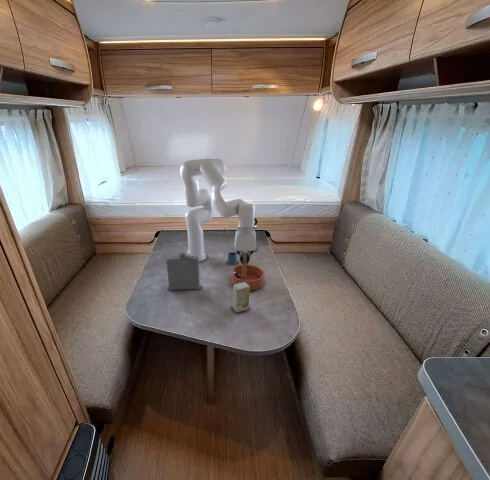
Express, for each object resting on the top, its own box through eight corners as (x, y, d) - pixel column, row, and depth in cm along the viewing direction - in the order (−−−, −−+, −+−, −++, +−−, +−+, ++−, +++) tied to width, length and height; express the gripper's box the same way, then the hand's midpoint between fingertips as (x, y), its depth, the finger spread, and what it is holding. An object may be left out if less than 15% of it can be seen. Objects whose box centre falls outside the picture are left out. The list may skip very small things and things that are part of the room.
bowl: (232, 291, 133) (232, 281, 131) (229, 274, 149) (229, 264, 147) (266, 291, 133) (267, 280, 131) (260, 273, 149) (260, 264, 147)
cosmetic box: (236, 313, 118) (237, 289, 113) (232, 307, 122) (232, 284, 117) (249, 309, 120) (250, 286, 116) (244, 303, 124) (245, 281, 119)
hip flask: (168, 290, 136) (165, 255, 128) (169, 285, 139) (166, 251, 131) (199, 289, 136) (198, 254, 128) (199, 284, 140) (198, 250, 132)
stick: (242, 281, 138) (243, 253, 132) (241, 279, 140) (242, 251, 134) (246, 281, 138) (247, 253, 132) (245, 279, 140) (246, 251, 134)
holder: (228, 265, 159) (228, 256, 157) (227, 260, 164) (227, 252, 162) (237, 264, 159) (237, 255, 157) (236, 260, 164) (236, 251, 162)
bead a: (239, 280, 143) (234, 279, 142) (238, 276, 145) (233, 275, 144) (241, 277, 141) (236, 276, 140) (241, 273, 143) (236, 271, 143)
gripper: (260, 225, 131) (258, 258, 138) (228, 226, 131) (228, 259, 138) (263, 231, 124) (261, 265, 131) (229, 231, 124) (229, 266, 131)
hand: (244, 262), depth 135 cm, fingers closed on stick, 2 cm apart
